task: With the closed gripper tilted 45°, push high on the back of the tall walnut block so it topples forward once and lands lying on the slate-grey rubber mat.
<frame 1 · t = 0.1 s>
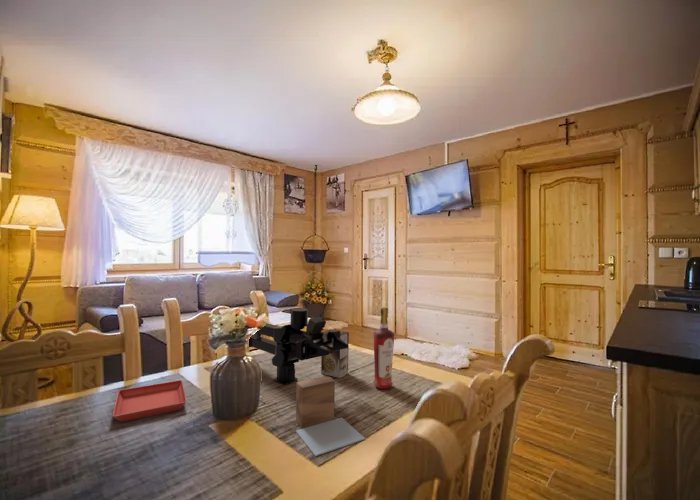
hand: (338, 349, 105), 17 cm above the table, tool horizontal, fingers open, 9 cm apart
liquor: (382, 387, 117), on the table
plant saucer: (151, 406, 101), on the table
coffee box: (334, 374, 129), on the table
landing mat: (329, 435, 86), on the table
walnut block: (315, 420, 94), on the table
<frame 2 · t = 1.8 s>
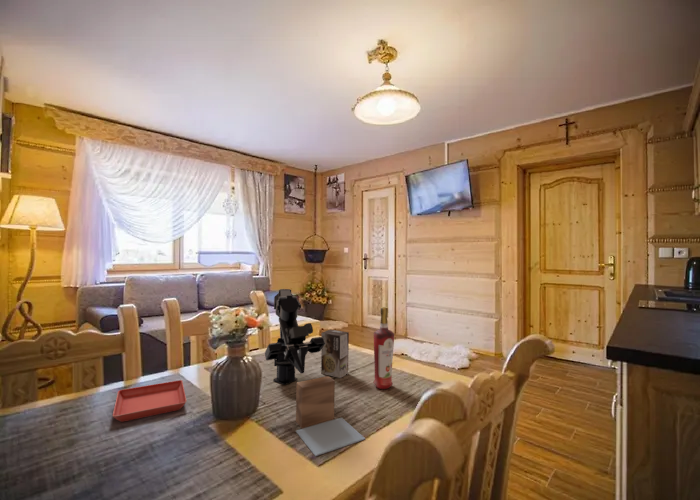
hand: (302, 372, 101), 10 cm above the table, tool tilted 45°, fingers closed
nothing on the table moved.
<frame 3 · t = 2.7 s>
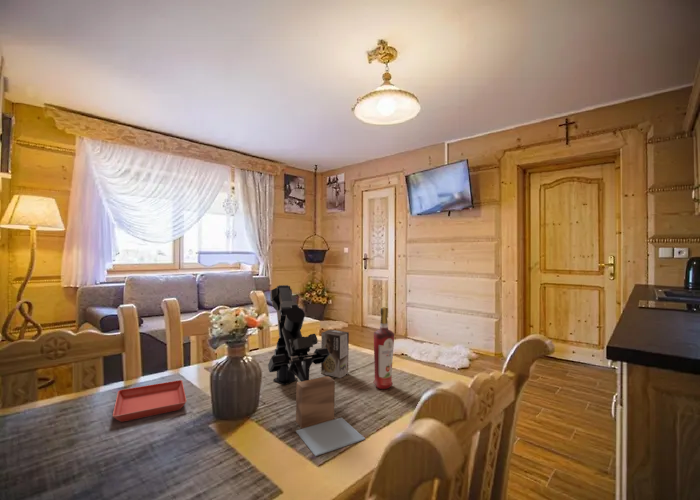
hand: (307, 385, 98), 8 cm above the table, tool tilted 45°, fingers closed
nothing on the table moved.
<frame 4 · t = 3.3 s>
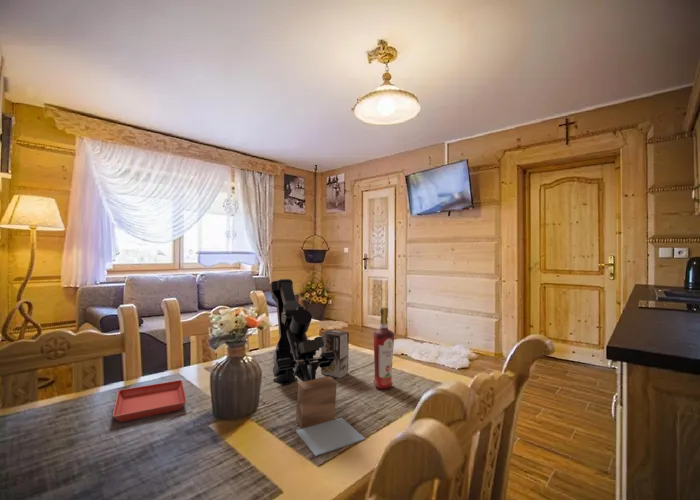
hand: (313, 390, 95), 8 cm above the table, tool tilted 45°, fingers closed, pressing on walnut block
walnut block: (315, 419, 94), on the table, tilted 6°, touching gripper
everything else where it was.
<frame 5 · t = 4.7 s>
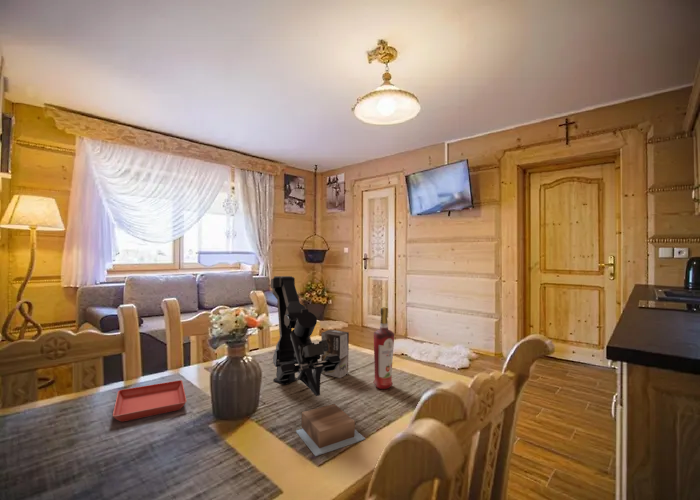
hand: (318, 395, 92), 8 cm above the table, tool tilted 45°, fingers closed
walnut block: (318, 415, 92), point 2 cm above the table, tilted 90°, touching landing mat
everything else where it was.
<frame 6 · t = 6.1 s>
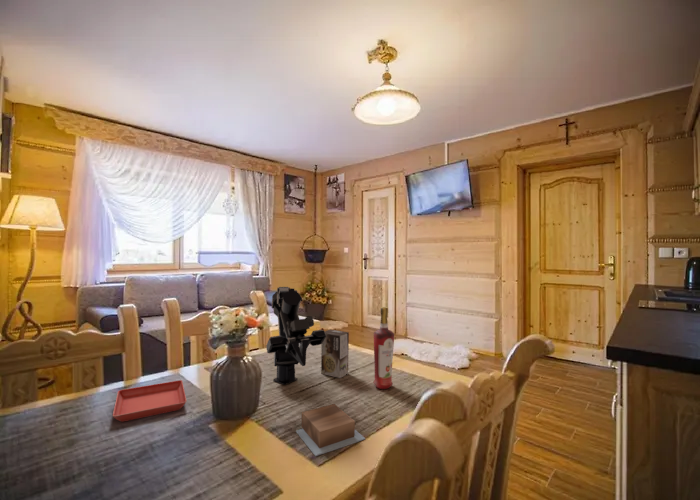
hand: (304, 365, 102), 13 cm above the table, tool tilted 45°, fingers closed
nothing on the table moved.
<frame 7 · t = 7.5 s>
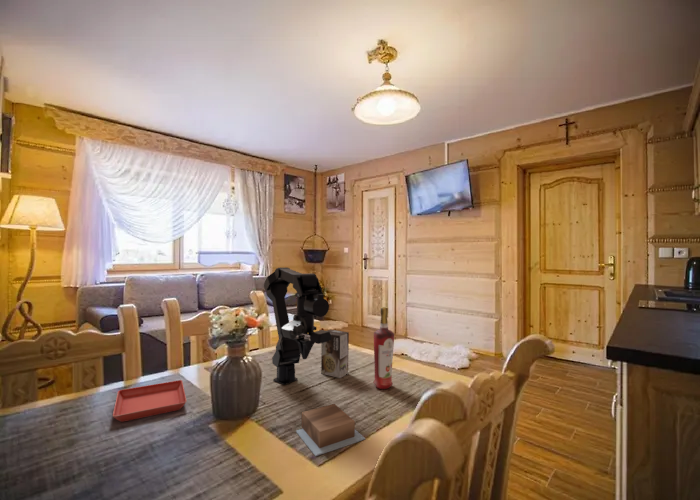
hand: (304, 358, 109), 12 cm above the table, tool pointing down, fingers closed
nothing on the table moved.
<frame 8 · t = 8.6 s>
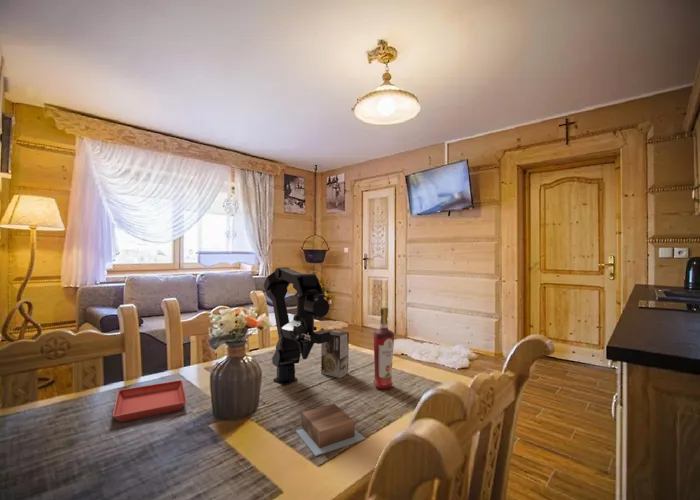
hand: (304, 358, 109), 12 cm above the table, tool pointing down, fingers closed
nothing on the table moved.
at the end: walnut block tilted 90°; walnut block touching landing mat; the gripper is holding nothing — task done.
